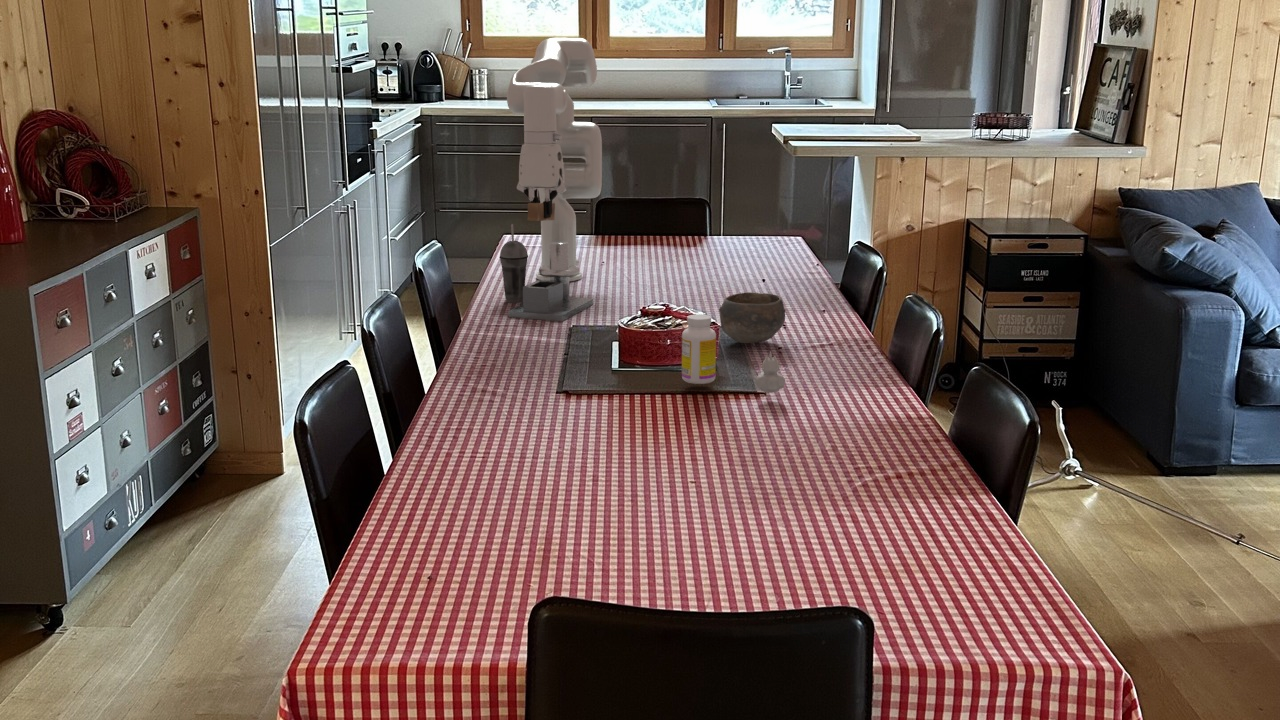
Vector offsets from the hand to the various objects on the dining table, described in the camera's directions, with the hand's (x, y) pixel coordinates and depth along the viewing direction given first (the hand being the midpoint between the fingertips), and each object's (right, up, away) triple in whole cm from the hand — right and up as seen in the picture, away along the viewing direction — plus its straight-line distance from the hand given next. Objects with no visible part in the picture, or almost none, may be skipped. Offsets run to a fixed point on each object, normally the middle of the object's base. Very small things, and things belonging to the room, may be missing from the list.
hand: (541, 216), depth 289 cm
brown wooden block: (-2, +1, -5) cm, 5 cm away
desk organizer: (+2, -22, +11) cm, 24 cm away
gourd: (+48, -40, -57) cm, 85 cm away
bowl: (+48, -30, -18) cm, 60 cm away
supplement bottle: (+35, -38, -49) cm, 71 cm away
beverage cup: (-8, -19, +21) cm, 30 cm away
